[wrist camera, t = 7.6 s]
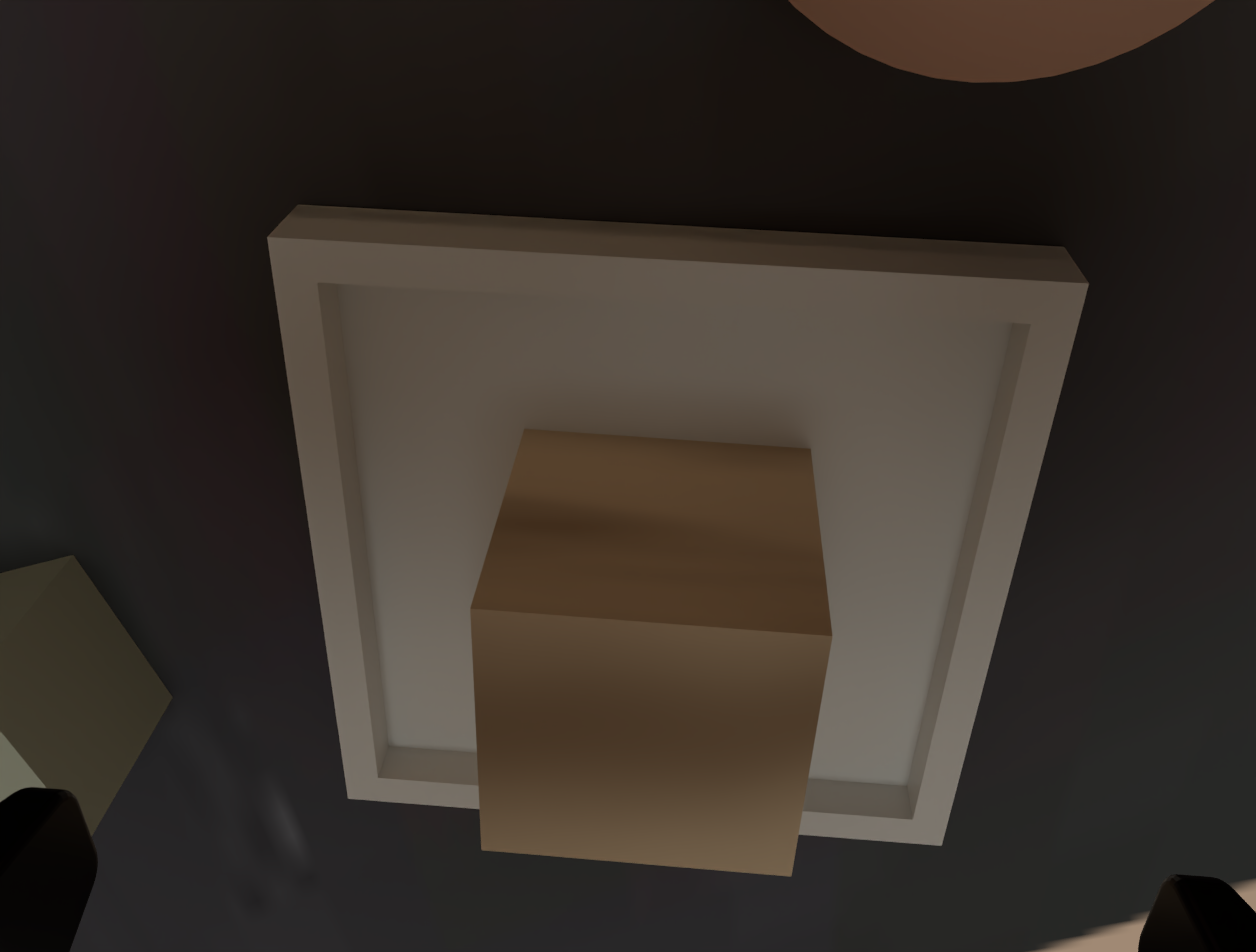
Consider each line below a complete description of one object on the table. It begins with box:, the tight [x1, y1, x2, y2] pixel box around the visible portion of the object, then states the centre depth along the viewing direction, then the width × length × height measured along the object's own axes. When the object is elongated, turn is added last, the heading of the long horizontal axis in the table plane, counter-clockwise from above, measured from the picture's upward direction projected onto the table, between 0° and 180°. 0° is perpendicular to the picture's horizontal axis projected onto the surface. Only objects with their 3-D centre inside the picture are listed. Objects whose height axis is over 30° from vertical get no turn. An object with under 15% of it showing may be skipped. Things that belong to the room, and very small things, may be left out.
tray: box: [267, 205, 1089, 846], centre depth 21 cm, size 12×12×2 cm
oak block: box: [470, 429, 833, 876], centre depth 19 cm, size 5×5×5 cm
